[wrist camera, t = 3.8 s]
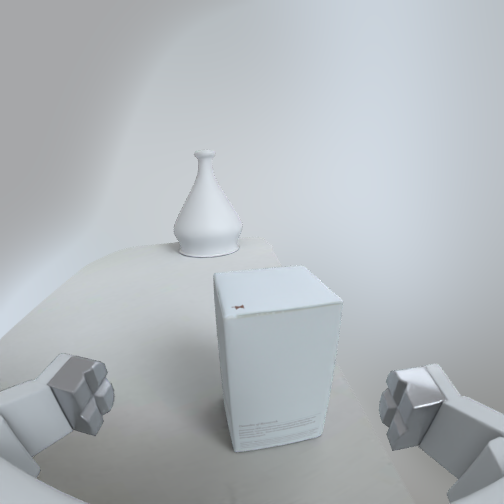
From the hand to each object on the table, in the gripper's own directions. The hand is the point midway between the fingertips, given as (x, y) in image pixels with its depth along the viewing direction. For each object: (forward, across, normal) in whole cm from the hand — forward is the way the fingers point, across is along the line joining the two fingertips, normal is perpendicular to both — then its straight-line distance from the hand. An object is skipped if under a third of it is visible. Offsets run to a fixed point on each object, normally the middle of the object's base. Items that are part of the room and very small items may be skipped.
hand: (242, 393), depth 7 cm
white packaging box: (+12, -1, +15) cm, 19 cm away
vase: (+66, +14, +15) cm, 69 cm away
